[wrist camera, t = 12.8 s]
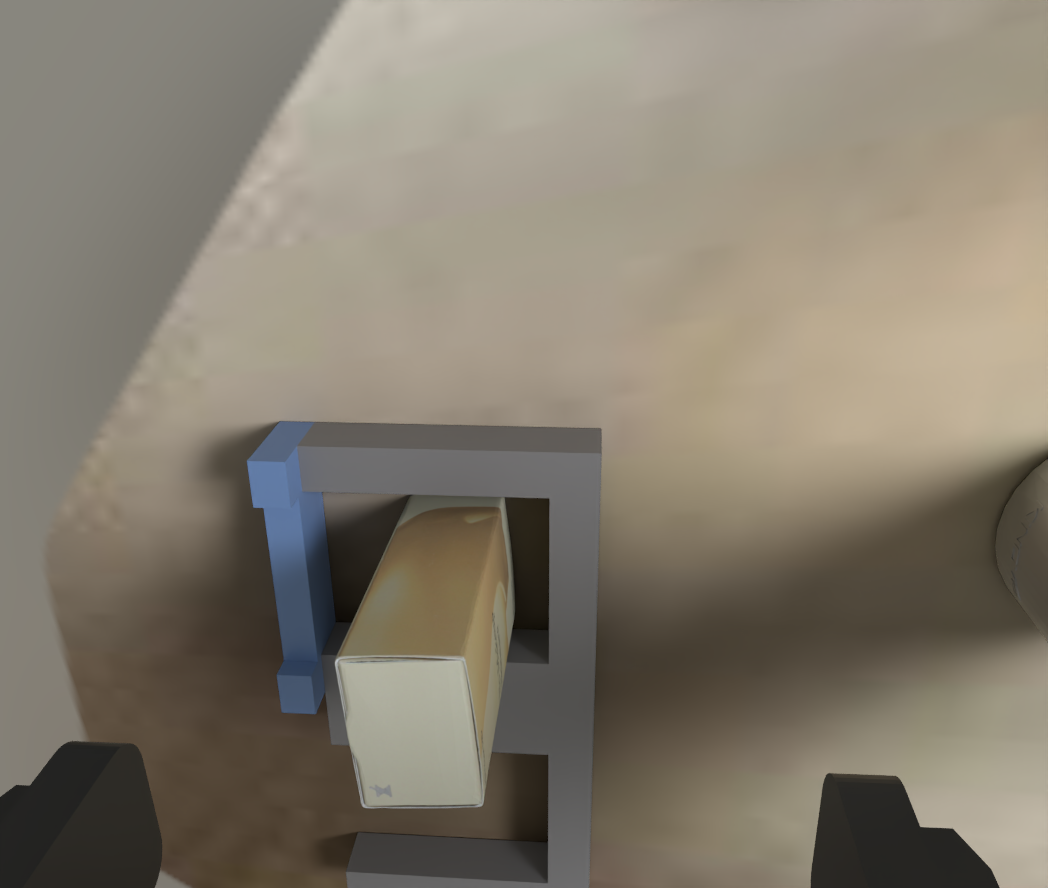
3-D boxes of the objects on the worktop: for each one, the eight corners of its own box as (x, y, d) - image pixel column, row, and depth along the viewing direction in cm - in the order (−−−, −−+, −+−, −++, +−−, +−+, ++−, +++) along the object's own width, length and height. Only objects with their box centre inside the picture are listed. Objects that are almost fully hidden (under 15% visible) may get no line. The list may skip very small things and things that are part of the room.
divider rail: (601, 428, 38) (601, 470, 35) (588, 873, 48) (587, 942, 45) (279, 421, 39) (246, 461, 36) (332, 859, 49) (311, 925, 46)
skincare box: (518, 610, 42) (488, 817, 31) (423, 613, 43) (360, 818, 31) (505, 482, 40) (467, 658, 28) (405, 487, 40) (329, 661, 29)
